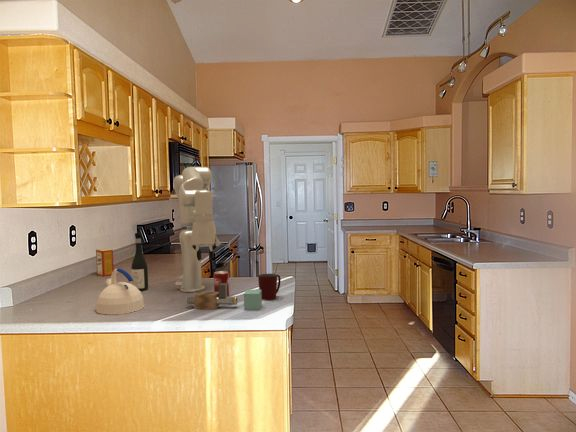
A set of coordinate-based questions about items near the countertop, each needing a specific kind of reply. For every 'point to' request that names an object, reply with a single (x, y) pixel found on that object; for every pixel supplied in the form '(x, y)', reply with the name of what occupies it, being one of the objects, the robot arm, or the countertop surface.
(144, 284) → the wine bottle
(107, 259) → the baking soda box
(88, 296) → the countertop surface
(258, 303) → the socket block
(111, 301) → the kettle
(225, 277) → the soda can
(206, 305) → the guide sleeve
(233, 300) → the slide bolt
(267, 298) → the mug
